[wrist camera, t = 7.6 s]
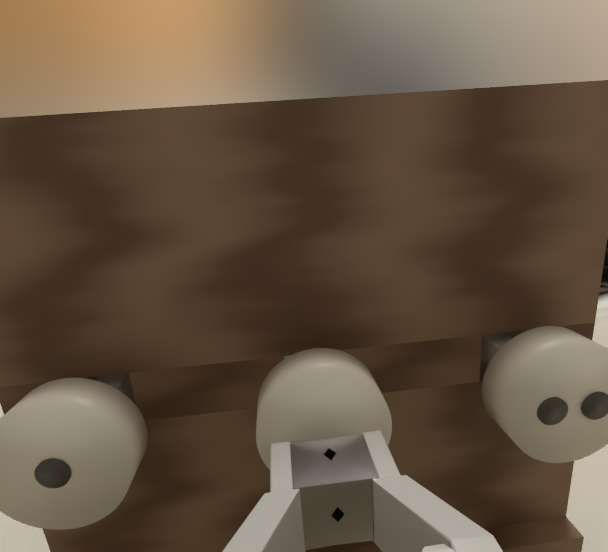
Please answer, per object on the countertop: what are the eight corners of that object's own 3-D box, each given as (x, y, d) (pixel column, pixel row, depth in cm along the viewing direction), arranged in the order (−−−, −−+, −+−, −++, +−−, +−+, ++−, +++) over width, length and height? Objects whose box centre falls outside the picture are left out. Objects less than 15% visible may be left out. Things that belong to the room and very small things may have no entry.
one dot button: (-4, 542, 10) (-51, 420, 9) (89, 416, 16) (66, 330, 15) (141, 522, 11) (112, 402, 10) (184, 405, 16) (168, 320, 15)
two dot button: (506, 473, 11) (517, 355, 10) (430, 377, 17) (432, 294, 16) (627, 456, 12) (650, 340, 11) (514, 367, 17) (522, 285, 16)
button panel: (59, 643, 15) (-131, 118, 10) (131, 483, 22) (48, 143, 17) (579, 563, 16) (662, 70, 11) (479, 438, 24) (500, 113, 19)
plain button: (263, 497, 11) (248, 380, 10) (265, 394, 16) (256, 310, 15) (392, 480, 11) (391, 364, 10) (353, 383, 17) (350, 300, 16)
